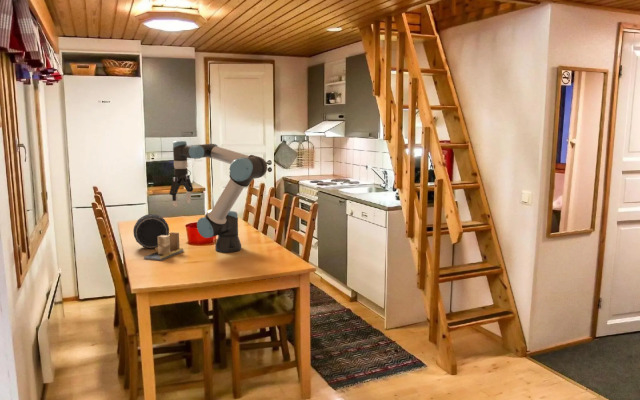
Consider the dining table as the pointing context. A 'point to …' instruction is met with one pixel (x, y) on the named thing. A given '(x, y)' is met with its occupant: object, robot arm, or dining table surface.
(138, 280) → the dining table surface
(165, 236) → the block
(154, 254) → the grey board with posts
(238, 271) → the dining table surface
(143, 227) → the dark studded bowl
